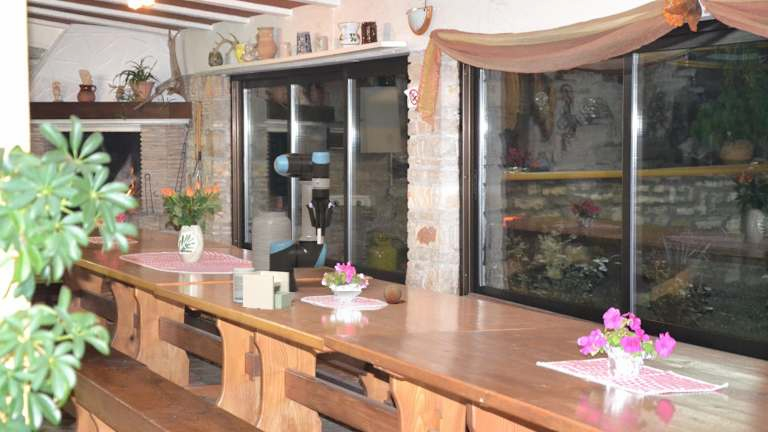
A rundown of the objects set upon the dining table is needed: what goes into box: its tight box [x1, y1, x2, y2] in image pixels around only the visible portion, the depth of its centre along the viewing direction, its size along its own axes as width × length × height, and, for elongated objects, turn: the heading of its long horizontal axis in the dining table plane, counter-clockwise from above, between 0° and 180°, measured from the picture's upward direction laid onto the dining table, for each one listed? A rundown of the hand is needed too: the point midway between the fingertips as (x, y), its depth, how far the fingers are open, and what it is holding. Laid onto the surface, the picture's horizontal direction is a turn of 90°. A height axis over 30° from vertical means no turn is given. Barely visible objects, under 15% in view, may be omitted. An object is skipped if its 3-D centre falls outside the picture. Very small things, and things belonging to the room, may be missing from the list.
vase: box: [251, 211, 292, 272], centre depth 547 cm, size 20×20×34 cm
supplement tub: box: [232, 267, 255, 304], centre depth 456 cm, size 10×10×15 cm
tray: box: [273, 291, 293, 310], centre depth 445 cm, size 10×14×6 cm
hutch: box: [242, 271, 289, 310], centre depth 446 cm, size 15×14×14 cm
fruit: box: [383, 284, 403, 305], centre depth 459 cm, size 8×8×8 cm
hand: (320, 243), depth 450 cm, fingers closed
